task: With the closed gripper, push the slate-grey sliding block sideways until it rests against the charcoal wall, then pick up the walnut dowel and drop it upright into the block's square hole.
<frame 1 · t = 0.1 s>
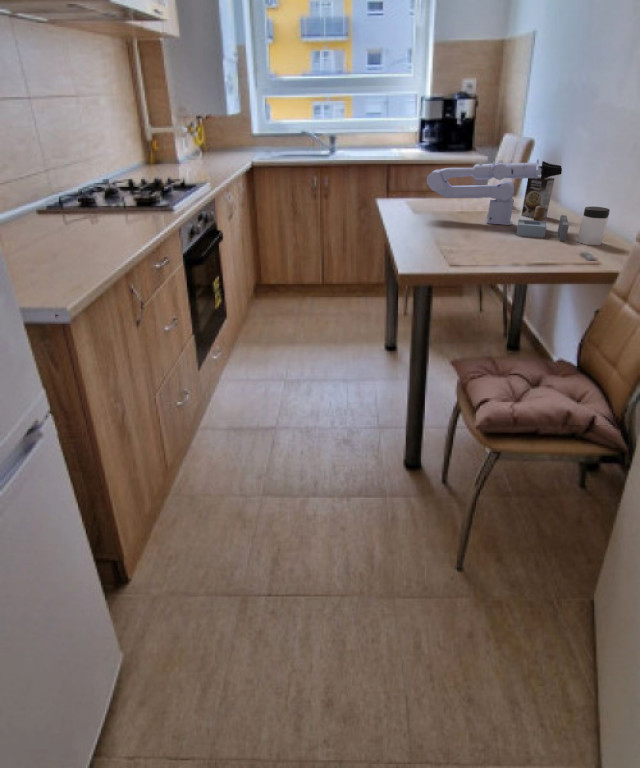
hand: (561, 169, 221), 22 cm above the table, tool horizontal, fingers open, 7 cm apart
jar: (589, 243, 208), on the table
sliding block: (531, 228, 219), point 2 cm above the table, slide at 5.0 cm
dowel: (536, 227, 229), on the table
coffee box: (533, 216, 250), on the table
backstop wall: (561, 236, 216), on the table
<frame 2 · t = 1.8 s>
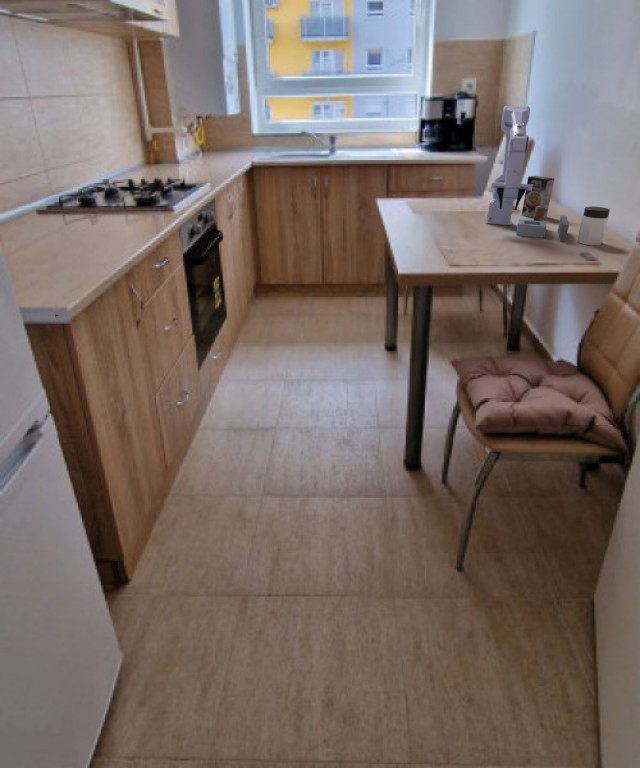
hand: (508, 209, 218), 8 cm above the table, tool pointing down, fingers open, 5 cm apart
nothing on the table moved.
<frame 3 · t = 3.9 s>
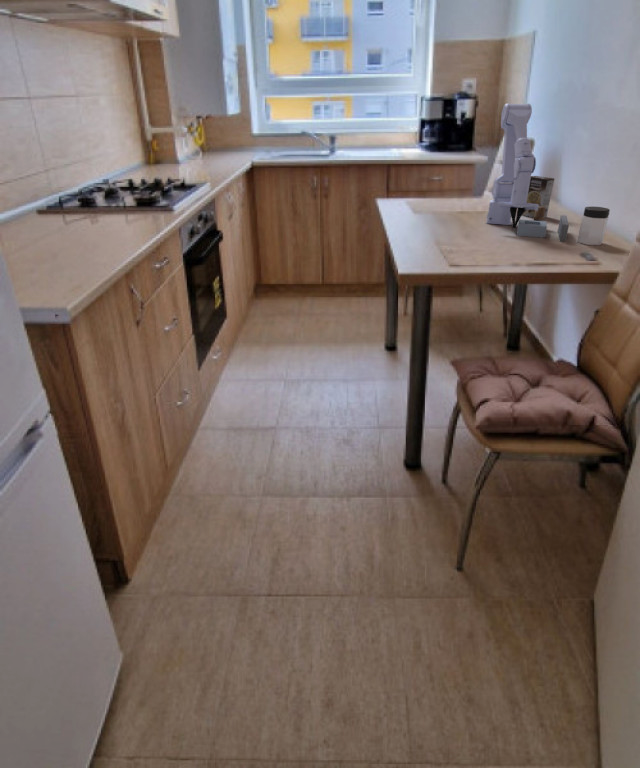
hand: (514, 228, 220), 2 cm above the table, tool pointing down, fingers closed
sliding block: (531, 228, 219), point 2 cm above the table, slide at 4.9 cm, touching gripper
everything else where it was.
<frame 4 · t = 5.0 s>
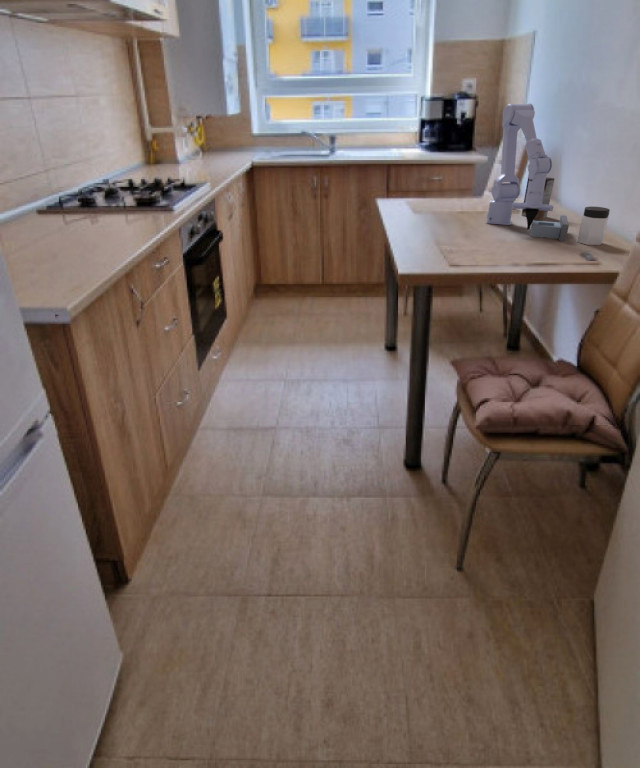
hand: (528, 229, 219), 2 cm above the table, tool pointing down, fingers closed
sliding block: (545, 229, 217), point 2 cm above the table, slide at -0.1 cm, touching gripper
everything else where it was.
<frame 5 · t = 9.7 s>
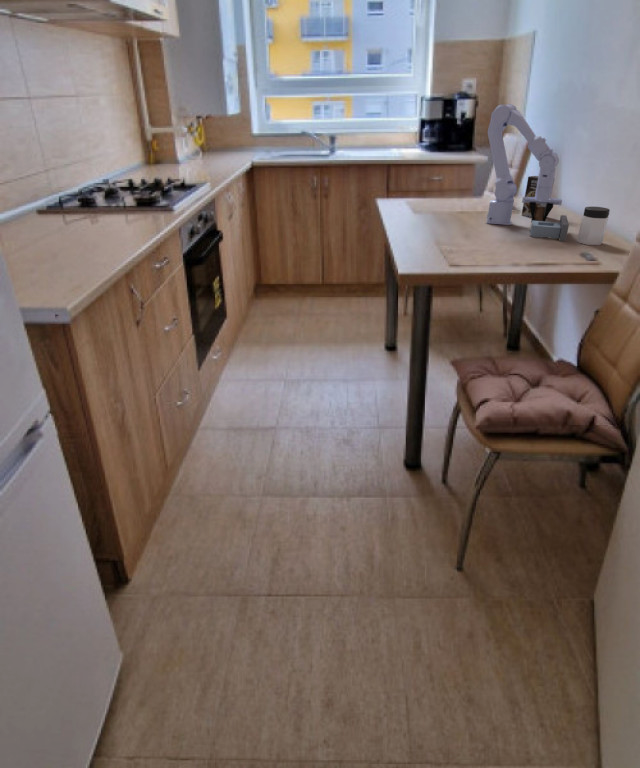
hand: (537, 222, 228), 2 cm above the table, tool pointing down, fingers closed on dowel, 4 cm apart
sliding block: (545, 229, 217), point 2 cm above the table, slide at 0.0 cm
dowel: (536, 227, 229), on the table, touching gripper
everything else where it was.
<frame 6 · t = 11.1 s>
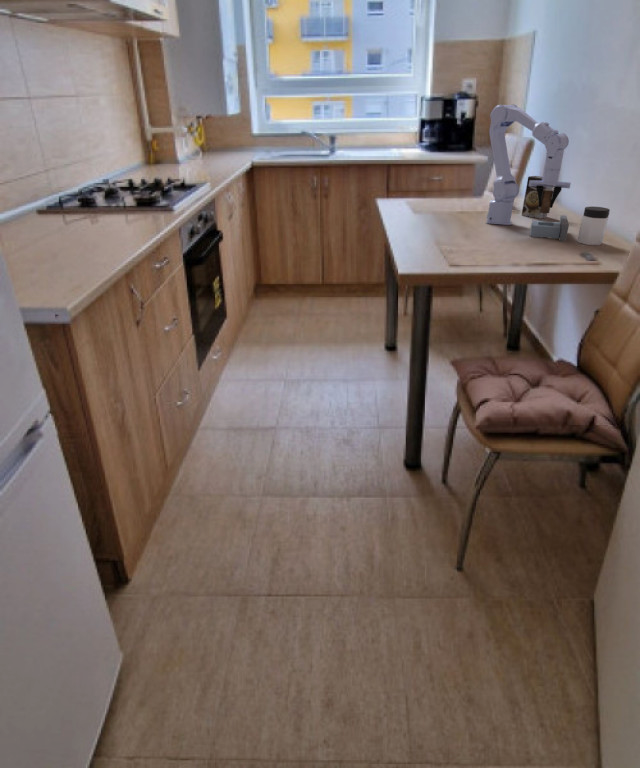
hand: (545, 207, 219), 9 cm above the table, tool pointing down, fingers closed on dowel, 4 cm apart
dowel: (544, 212, 220), point 7 cm above the table, touching gripper
everything else where it was.
when the fingers open (5 cm above the table, at t = 12.9 s): dowel drops 3 cm, resting in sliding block.
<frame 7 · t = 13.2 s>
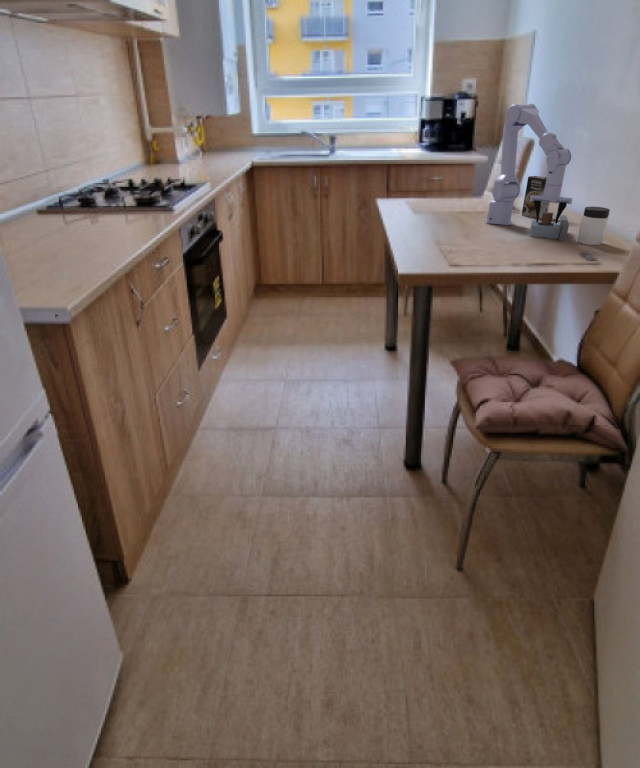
hand: (546, 222, 216), 5 cm above the table, tool pointing down, fingers open, 6 cm apart
dowel: (544, 234, 218), resting in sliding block
everything else where it was.
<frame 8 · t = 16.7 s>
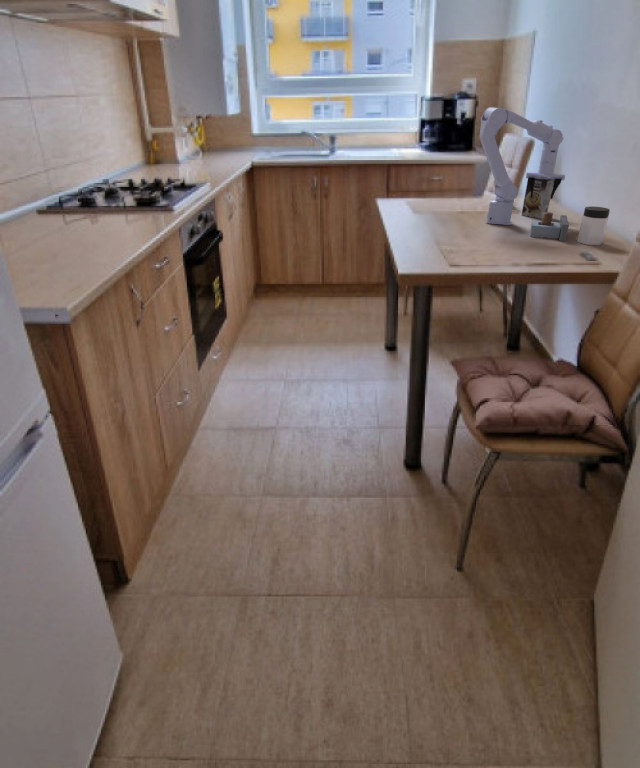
hand: (541, 197, 233), 10 cm above the table, tool pointing down, fingers open, 7 cm apart
nothing on the table moved.
at the end: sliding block slide at 0.0 cm; dowel 0.1 cm from the target spot, resting in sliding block; dowel tilted 1° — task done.
